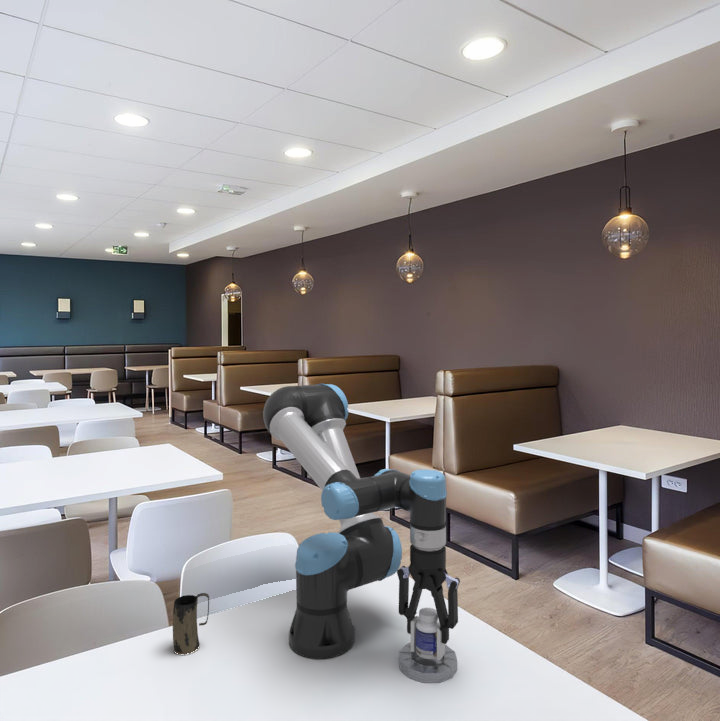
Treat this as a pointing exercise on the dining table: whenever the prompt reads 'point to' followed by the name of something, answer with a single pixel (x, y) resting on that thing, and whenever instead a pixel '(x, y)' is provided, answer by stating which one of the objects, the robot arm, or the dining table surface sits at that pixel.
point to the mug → (186, 623)
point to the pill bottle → (427, 633)
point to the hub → (427, 672)
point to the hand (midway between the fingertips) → (427, 652)
